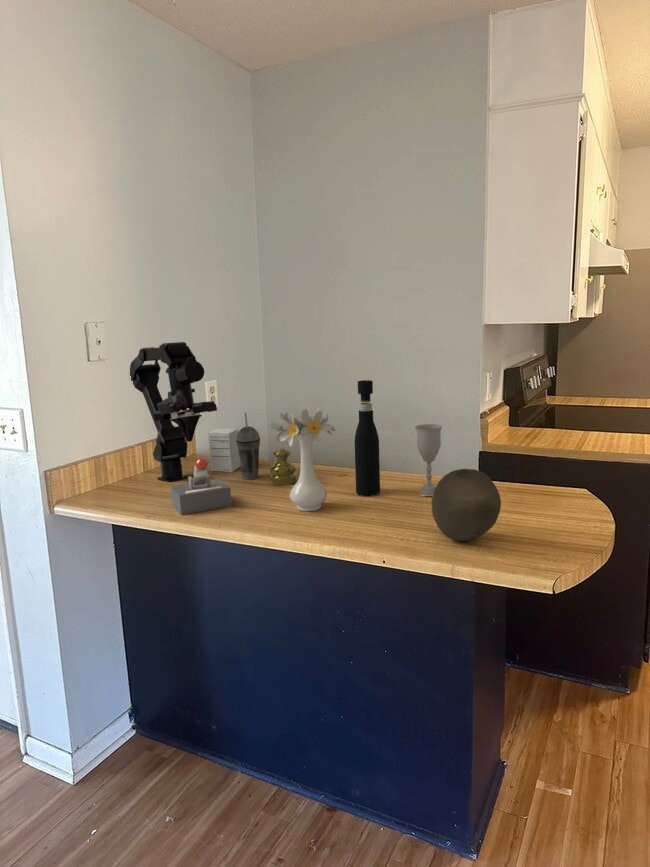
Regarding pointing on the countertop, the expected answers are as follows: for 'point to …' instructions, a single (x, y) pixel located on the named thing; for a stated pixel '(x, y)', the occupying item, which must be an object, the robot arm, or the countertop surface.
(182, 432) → the robot arm
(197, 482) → the switch lever
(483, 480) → the dark brown ball
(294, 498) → the flower vase
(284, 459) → the salt shaker
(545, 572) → the countertop surface
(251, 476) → the beverage cup
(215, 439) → the supplement box
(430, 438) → the chalice
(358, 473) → the black bottle
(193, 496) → the switch box
